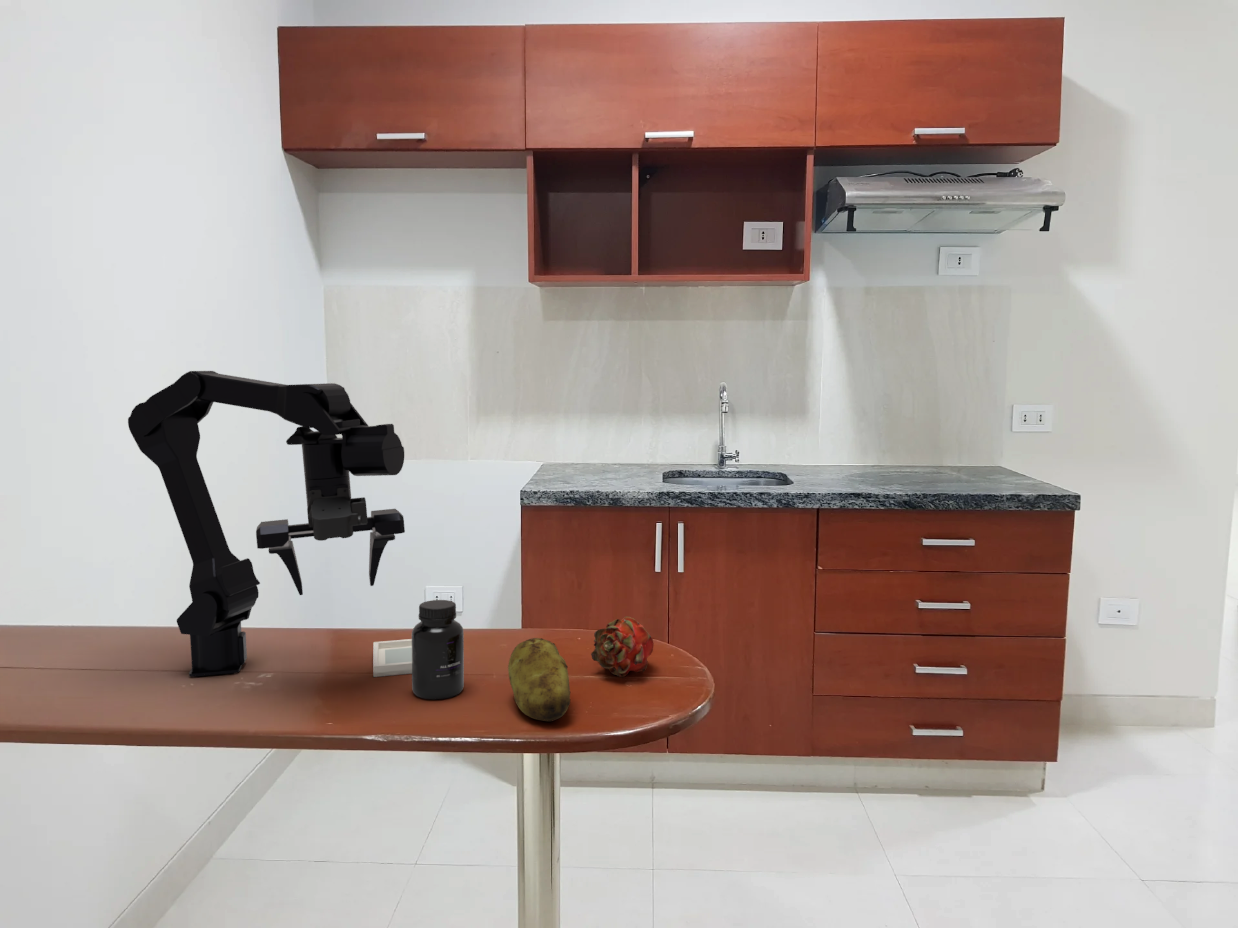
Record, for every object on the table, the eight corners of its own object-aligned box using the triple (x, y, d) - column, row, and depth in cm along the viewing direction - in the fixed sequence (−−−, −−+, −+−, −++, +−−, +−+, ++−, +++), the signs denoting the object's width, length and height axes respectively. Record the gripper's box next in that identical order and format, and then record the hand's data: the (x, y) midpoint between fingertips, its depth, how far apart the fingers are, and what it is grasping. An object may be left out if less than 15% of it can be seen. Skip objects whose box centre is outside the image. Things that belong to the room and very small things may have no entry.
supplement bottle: (452, 703, 110) (450, 613, 108) (403, 698, 111) (401, 609, 110) (472, 683, 117) (470, 598, 115) (425, 679, 118) (423, 595, 116)
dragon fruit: (610, 698, 115) (622, 679, 127) (661, 664, 115) (669, 648, 126) (575, 646, 116) (590, 632, 128) (626, 611, 115) (636, 600, 127)
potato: (500, 729, 102) (500, 665, 101) (511, 688, 115) (510, 631, 114) (570, 728, 102) (569, 665, 101) (572, 688, 115) (572, 631, 114)
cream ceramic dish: (373, 676, 119) (373, 666, 119) (373, 651, 129) (373, 642, 129) (452, 669, 122) (452, 659, 122) (446, 645, 132) (446, 636, 132)
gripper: (249, 489, 104) (261, 614, 105) (405, 476, 110) (414, 593, 112) (253, 480, 114) (264, 594, 116) (395, 468, 120) (404, 576, 122)
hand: (337, 589), depth 116 cm, fingers open, 9 cm apart
